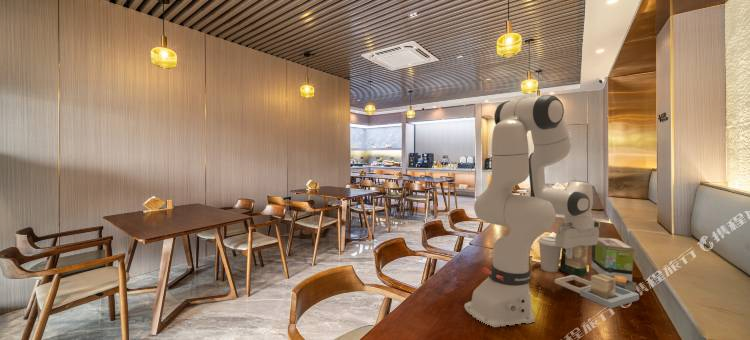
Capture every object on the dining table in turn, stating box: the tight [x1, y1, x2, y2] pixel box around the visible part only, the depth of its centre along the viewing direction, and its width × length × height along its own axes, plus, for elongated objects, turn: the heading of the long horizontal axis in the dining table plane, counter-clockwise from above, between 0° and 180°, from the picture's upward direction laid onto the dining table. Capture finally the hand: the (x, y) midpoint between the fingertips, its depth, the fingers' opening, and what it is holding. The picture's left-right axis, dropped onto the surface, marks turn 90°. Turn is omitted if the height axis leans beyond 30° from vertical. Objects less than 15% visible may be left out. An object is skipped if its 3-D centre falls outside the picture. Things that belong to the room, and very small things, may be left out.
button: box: [614, 275, 627, 284], centre depth 113 cm, size 4×4×4 cm
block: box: [565, 246, 589, 269], centre depth 114 cm, size 5×5×8 cm
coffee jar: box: [559, 248, 588, 277], centre depth 129 cm, size 10×8×19 cm
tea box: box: [591, 237, 635, 282], centre depth 128 cm, size 15×10×15 cm
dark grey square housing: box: [611, 277, 637, 293], centre depth 113 cm, size 7×7×4 cm
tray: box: [554, 274, 591, 294], centre depth 115 cm, size 11×10×2 cm
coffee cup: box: [537, 235, 562, 273], centre depth 132 cm, size 10×10×15 cm
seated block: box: [590, 273, 616, 300], centre depth 104 cm, size 5×5×8 cm
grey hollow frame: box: [579, 286, 640, 309], centre depth 105 cm, size 16×10×3 cm, turn 112°
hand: (576, 257), depth 114 cm, fingers closed on block, 5 cm apart
